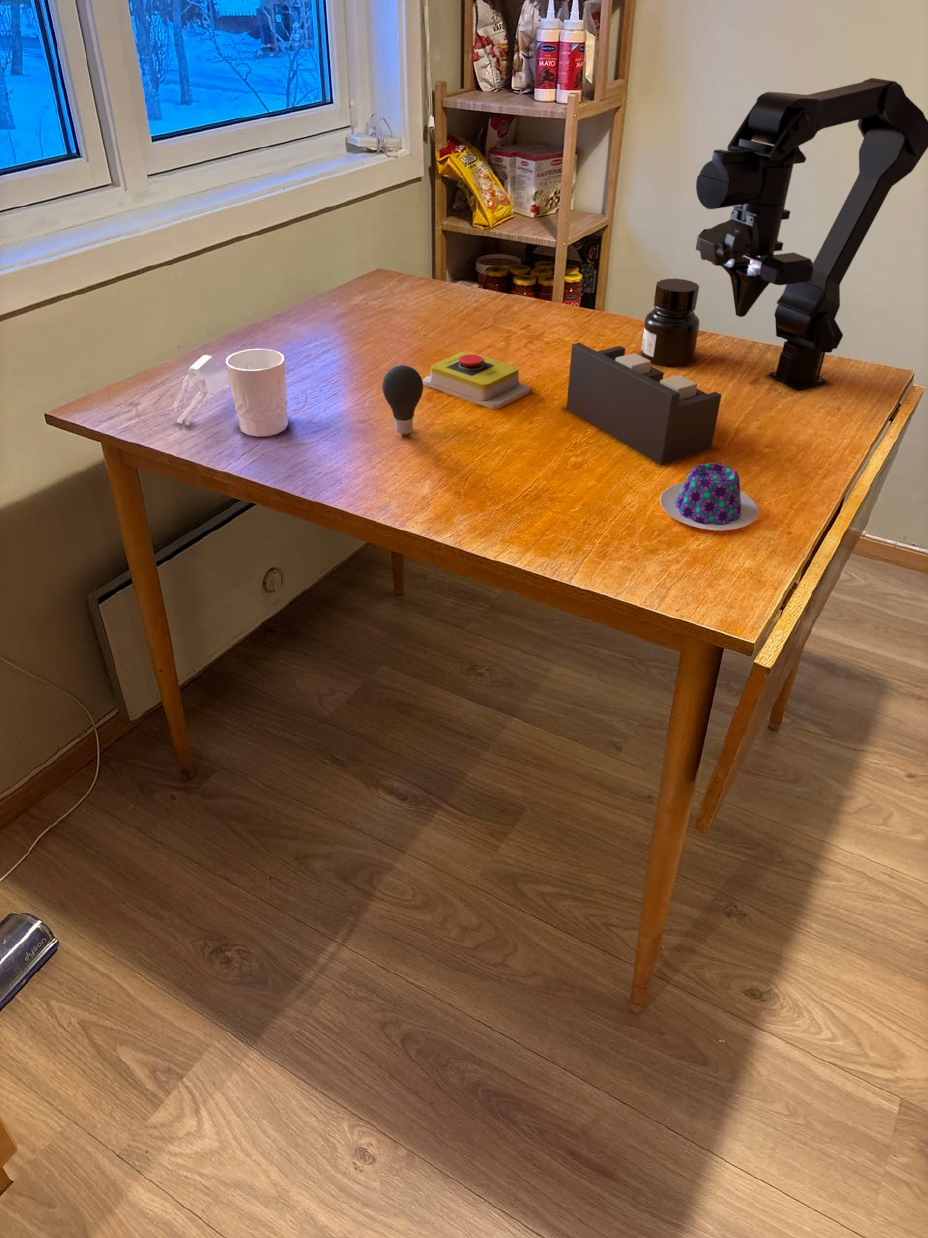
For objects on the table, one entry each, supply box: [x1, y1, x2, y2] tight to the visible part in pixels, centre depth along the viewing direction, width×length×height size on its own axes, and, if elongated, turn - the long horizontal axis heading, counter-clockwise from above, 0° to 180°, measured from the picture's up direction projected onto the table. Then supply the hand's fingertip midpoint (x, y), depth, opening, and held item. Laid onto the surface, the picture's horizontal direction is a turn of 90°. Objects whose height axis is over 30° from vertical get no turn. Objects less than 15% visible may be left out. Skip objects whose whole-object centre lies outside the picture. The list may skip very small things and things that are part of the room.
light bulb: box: [381, 364, 424, 437], centre depth 128 cm, size 6×6×10 cm
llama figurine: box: [169, 354, 231, 426], centre depth 136 cm, size 2×11×18 cm
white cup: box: [225, 348, 289, 437], centre depth 129 cm, size 8×8×10 cm
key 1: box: [615, 352, 652, 374], centre depth 133 cm, size 4×4×2 cm
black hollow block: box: [565, 342, 722, 466], centre depth 130 cm, size 9×21×10 cm, turn 33°
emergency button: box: [422, 350, 531, 410], centre depth 143 cm, size 9×4×15 cm
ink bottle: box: [640, 278, 700, 367], centre depth 152 cm, size 10×9×12 cm
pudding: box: [659, 462, 759, 531], centre depth 113 cm, size 12×12×5 cm
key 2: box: [660, 374, 698, 400], centre depth 127 cm, size 4×4×2 cm
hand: (740, 315), depth 134 cm, fingers closed
